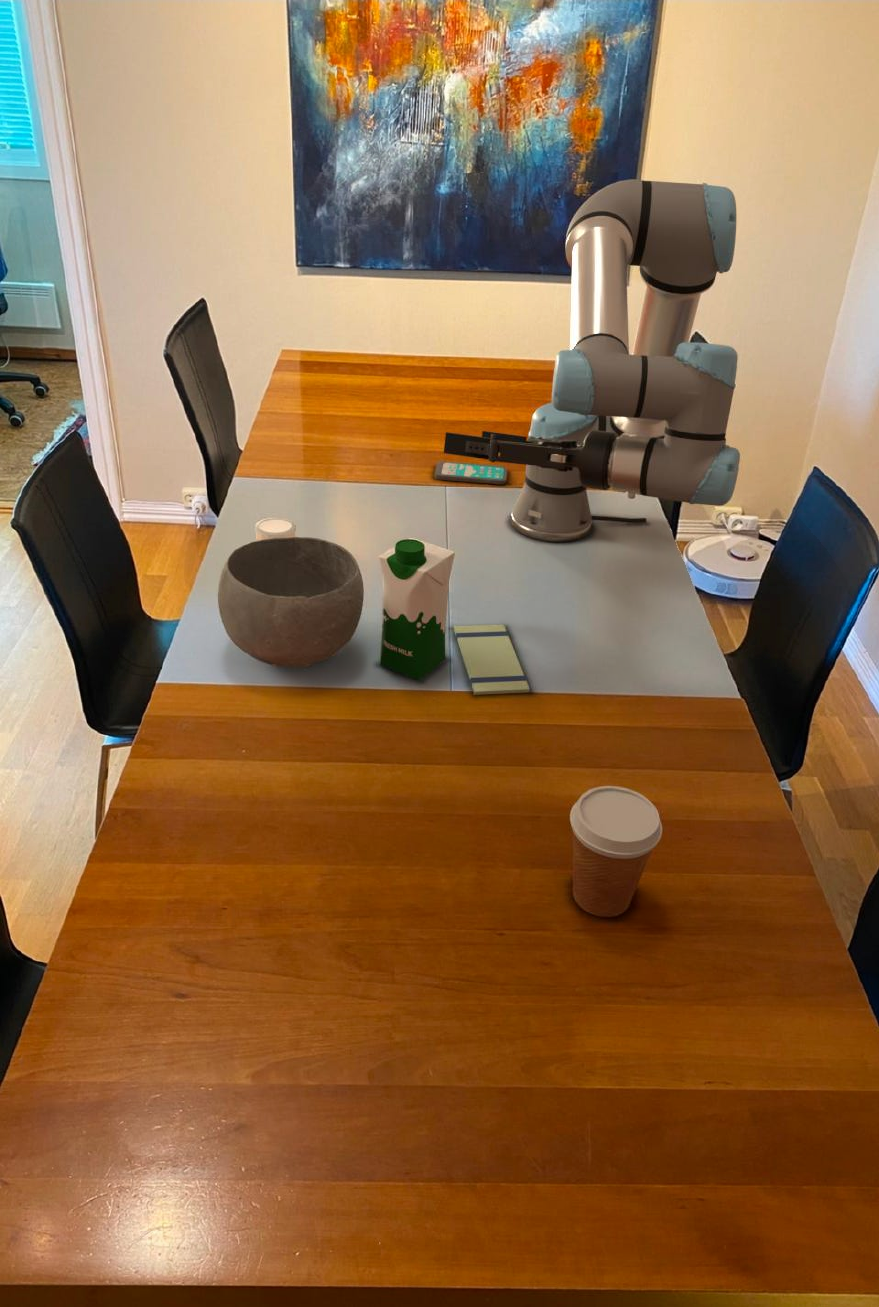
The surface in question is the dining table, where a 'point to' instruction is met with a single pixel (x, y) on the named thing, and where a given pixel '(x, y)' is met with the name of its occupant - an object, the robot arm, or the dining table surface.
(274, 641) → the bowl
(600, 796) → the disposable coffee cup
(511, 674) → the tea towel
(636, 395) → the robot arm
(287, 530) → the beige tapered cylinder
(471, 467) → the smartphone
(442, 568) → the milk carton
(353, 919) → the dining table surface
